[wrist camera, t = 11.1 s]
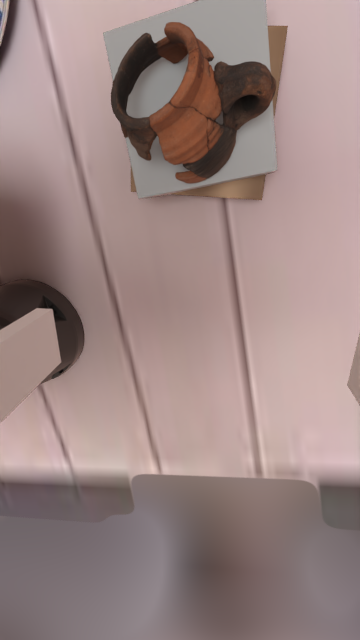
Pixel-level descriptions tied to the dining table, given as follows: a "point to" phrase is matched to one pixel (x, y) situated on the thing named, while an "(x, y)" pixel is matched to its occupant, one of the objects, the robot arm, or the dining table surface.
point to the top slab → (165, 78)
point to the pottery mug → (191, 102)
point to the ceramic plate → (3, 17)
